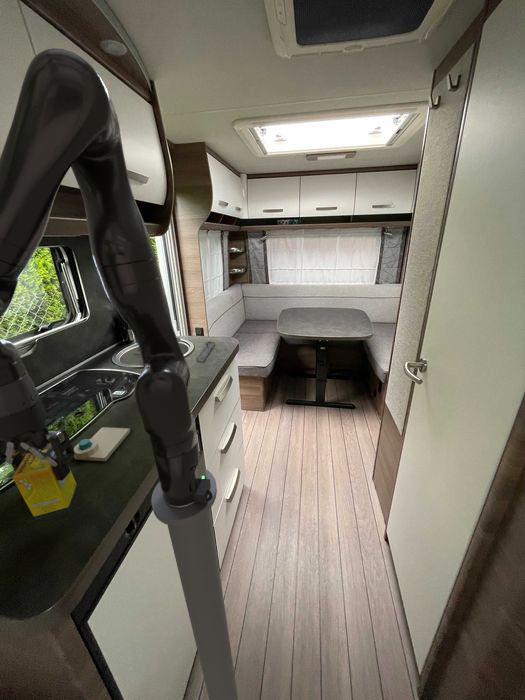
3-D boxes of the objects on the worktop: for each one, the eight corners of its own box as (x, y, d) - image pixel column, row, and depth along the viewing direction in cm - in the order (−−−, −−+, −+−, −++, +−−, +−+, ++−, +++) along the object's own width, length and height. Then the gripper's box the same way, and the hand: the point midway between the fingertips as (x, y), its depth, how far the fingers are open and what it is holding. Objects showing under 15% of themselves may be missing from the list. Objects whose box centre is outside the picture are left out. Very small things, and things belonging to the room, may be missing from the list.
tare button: (84, 443, 77) (83, 438, 76) (93, 443, 76) (91, 438, 76) (78, 450, 74) (76, 445, 74) (86, 450, 74) (85, 445, 73)
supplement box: (45, 494, 57) (25, 453, 53) (78, 486, 59) (61, 445, 54) (33, 520, 52) (10, 477, 48) (70, 510, 54) (50, 467, 49)
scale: (102, 430, 86) (100, 422, 85) (130, 431, 85) (128, 423, 84) (71, 461, 74) (68, 452, 73) (104, 463, 73) (101, 454, 72)
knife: (192, 361, 130) (203, 361, 129) (192, 361, 130) (203, 361, 129) (207, 342, 153) (216, 342, 152) (207, 341, 153) (216, 341, 152)
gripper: (-52, 415, 44) (-8, 490, 50) (29, 417, 42) (64, 495, 48) (-5, 390, 50) (28, 458, 57) (66, 391, 49) (93, 462, 55)
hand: (45, 475), depth 53 cm, fingers closed on supplement box, 7 cm apart
